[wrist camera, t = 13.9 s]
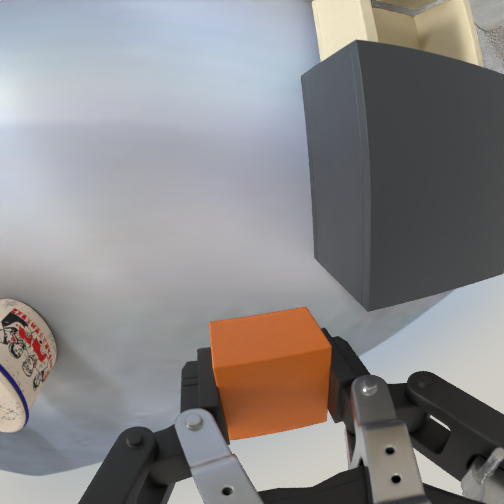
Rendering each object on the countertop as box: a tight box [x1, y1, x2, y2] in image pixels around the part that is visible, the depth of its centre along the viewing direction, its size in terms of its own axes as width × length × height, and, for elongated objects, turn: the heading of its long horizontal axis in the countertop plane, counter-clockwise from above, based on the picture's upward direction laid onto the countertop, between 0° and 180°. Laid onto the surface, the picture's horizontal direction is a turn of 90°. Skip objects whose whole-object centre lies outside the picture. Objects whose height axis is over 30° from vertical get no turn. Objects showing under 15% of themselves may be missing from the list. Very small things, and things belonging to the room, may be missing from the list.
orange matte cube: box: [209, 307, 332, 440], centre depth 12 cm, size 4×4×3 cm
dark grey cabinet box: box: [301, 39, 504, 311], centre depth 20 cm, size 15×13×10 cm
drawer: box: [312, 0, 484, 67], centre depth 16 cm, size 18×11×8 cm, turn 6°
